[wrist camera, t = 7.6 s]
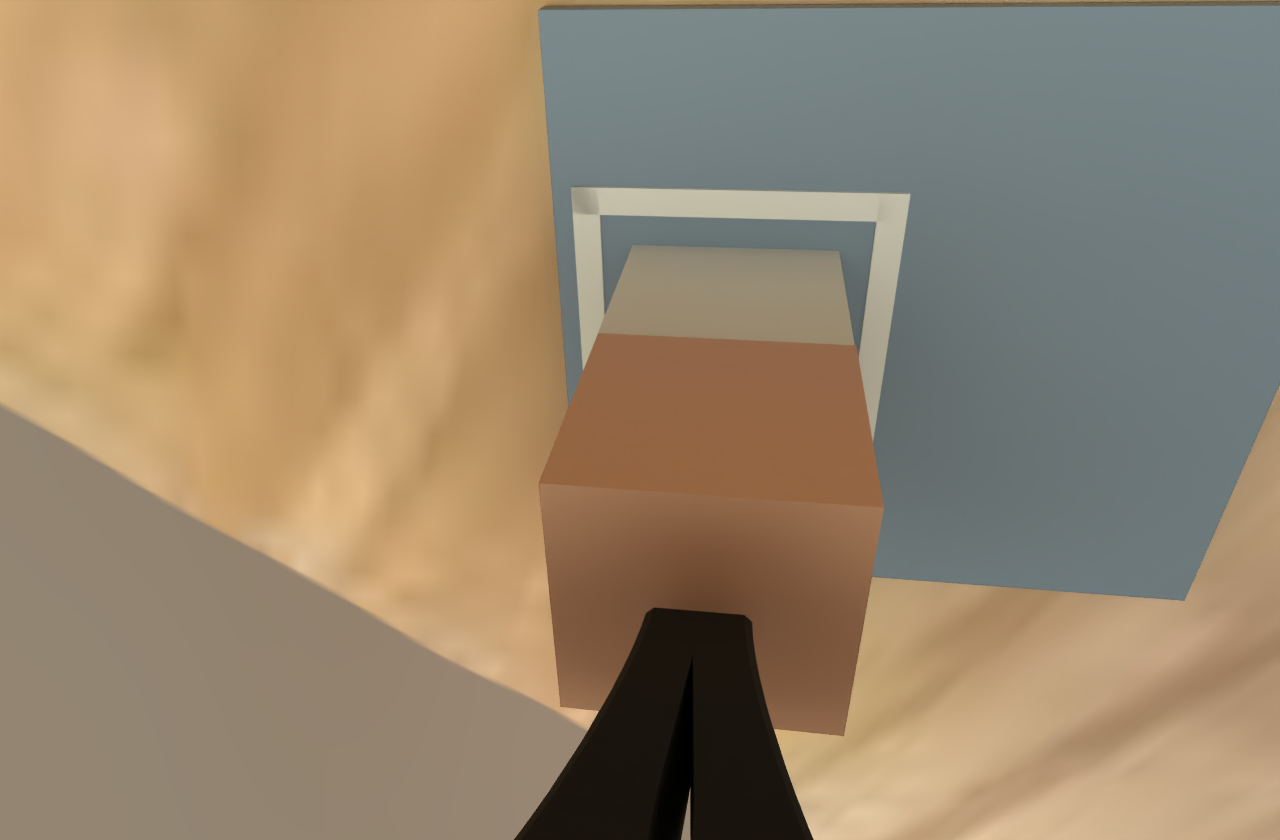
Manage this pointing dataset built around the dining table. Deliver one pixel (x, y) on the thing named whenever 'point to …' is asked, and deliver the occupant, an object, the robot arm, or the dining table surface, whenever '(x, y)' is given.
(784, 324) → the base block
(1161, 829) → the dining table surface
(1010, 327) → the board
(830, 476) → the top block
